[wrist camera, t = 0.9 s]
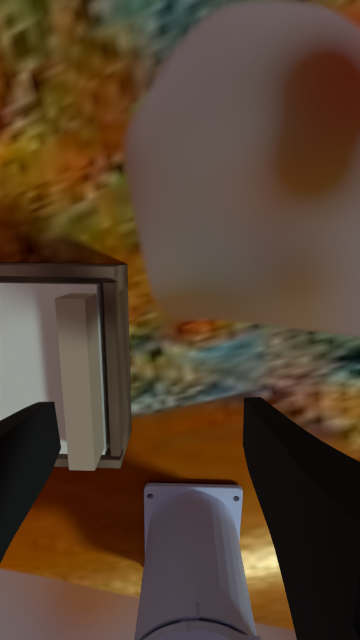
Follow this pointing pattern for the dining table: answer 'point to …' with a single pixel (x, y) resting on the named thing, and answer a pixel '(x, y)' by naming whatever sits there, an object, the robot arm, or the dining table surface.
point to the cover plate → (56, 361)
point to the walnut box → (114, 340)
